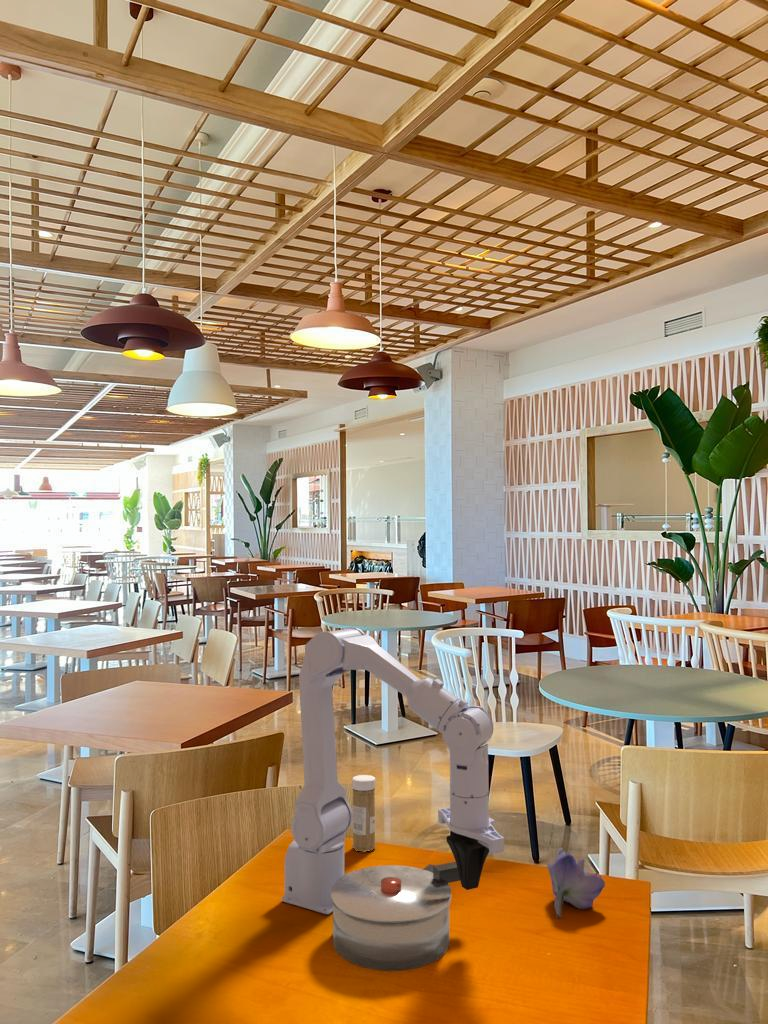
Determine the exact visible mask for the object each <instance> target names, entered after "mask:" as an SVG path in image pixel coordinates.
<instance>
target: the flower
mask: <svg viewBox="0 0 768 1024" xmlns="http://www.w3.org/2000/svg"><path fill="white" fill-rule="evenodd" d="M563 850H564V849H563V847H559V848H558V849H557V852H556V856H555V858H554V860H553V863H552V862H549V863H548V865H547V870H548V872H549V875H550V880H551V887H552V893H553V895H554V896H555V897H554V904H553V905H554V908H555V912H556V918H557V919H561V918H562V908H563V905H564V902H566V903H570V904H571V905H572V906H573V907H575V908H576V909H580V910H587V909H590V908H592V907H593V906H594V901H595V900H596V899H597V898H598V897H599V896H600V895H601V892H602V891H603V889H604V888H605V887H606V882H605V880H604V879H603V878H602V875H599V873H598V872H596V873H589V871H588V870H586V869H585V859H583V858H581V859H578V860H576V859H575V856H574V855H572V854H571V852H570V851H569V850H567V854H566V852H565V851H563Z"/></svg>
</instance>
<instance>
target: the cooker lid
mask: <svg viewBox="0 0 768 1024" xmlns="http://www.w3.org/2000/svg"><path fill="white" fill-rule="evenodd" d="M423 869H424V868H423ZM423 869H422V868H419V867H415V866H414V867H413V866H408V865H399V864H398V865H397V864H396V865H395V864H394V865H392V864H390V865H388V864H387V865H385V864H384V865H375V866H368V867H364V868H358V869H356V870H353V871H351V872H348V873H346V874H344V876H342V877H340V878H339V879H338V880H337V881H336V882H335V883H334V884H333V886H332V889H331V900H332V903H333V905H334V906H335V907H336V908H337V909H338V910H339V911H340V912H342V913H343V914H345V915H347V916H349V917H352V918H354V919H357V920H361V921H365V922H370V923H377V924H406V923H413V922H418V921H422V920H426V919H429V918H431V917H434V916H436V915H438V914H439V913H441V912H443V911H444V910H445V909H446V908H447V907H448V906H449V907H450V904H451V901H452V888H451V885H450V884H449V883H454V882H459V881H460V877H459V873H458V868H457V865H456V861H452V862H447V863H442V864H436V866H433V873H432V872H430V871H427V870H423ZM460 882H461V881H460Z"/></svg>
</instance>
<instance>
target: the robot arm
mask: <svg viewBox="0 0 768 1024" xmlns="http://www.w3.org/2000/svg"><path fill="white" fill-rule="evenodd" d="M304 654H305V655H304V656H305V657H304V660H303V662H302V665H301V669H300V671H299V674H298V689H299V702H300V703H299V707H300V708H299V709H300V721H301V722H300V724H301V725H300V727H301V741H302V759H303V762H302V763H303V780H304V785H303V788H302V789H301V791H300V792H299V794H298V795H297V797H296V799H295V802H294V808H295V809H294V814H293V818H292V820H291V826H290V827H291V835H292V837H293V839H294V840H293V841H292V842H291V843H290V844H289V846H288V848H287V851H286V853H285V857H284V895H283V896H282V897H281V902H284V903H287V904H290V905H293V906H294V905H295V906H297V907H300V908H303V909H308V910H311V911H314V912H317V913H320V914H323V915H330V914H331V913H333V903H332V900H331V889H332V886H333V884H334V883H335V882H336V881H337V880H338V879H339V878H340V877H342V876H344V875H345V840H346V832H347V831H348V830H349V829H350V828H351V826H352V825H353V809H352V807H351V805H350V803H349V801H348V796H347V789H346V787H344V786H343V784H341V782H339V777H338V764H337V746H336V731H335V713H334V711H335V710H334V695H333V694H334V693H333V692H334V691H333V685H334V684H335V683H336V682H337V681H338V680H339V679H340V678H341V677H342V676H343V675H344V674H345V673H346V672H347V671H349V670H351V671H352V670H353V671H357V670H358V671H361V670H363V671H364V670H365V671H367V672H368V673H371V674H372V675H374V677H377V678H378V679H379V680H381V681H382V682H384V683H386V684H387V685H388V686H390V687H391V688H392V689H393V690H395V691H397V692H398V693H400V694H402V695H403V696H404V697H406V701H407V702H406V703H407V707H408V709H409V710H410V711H412V712H413V713H415V715H417V716H418V717H419V718H420V719H422V720H423V721H424V722H426V723H427V724H428V725H430V726H431V727H432V728H433V729H435V731H437V732H439V733H440V734H442V735H441V736H442V738H443V742H444V744H445V745H446V747H447V748H448V750H449V807H444V808H439V809H438V810H437V813H438V814H437V815H438V817H437V819H438V820H437V822H438V823H440V824H441V825H443V824H446V825H447V826H446V827H448V829H449V830H450V832H452V833H453V834H449V835H447V836H446V838H445V839H446V843H447V844H448V847H449V848H450V850H451V853H452V855H453V859H454V862H456V865H457V868H458V873H459V877H460V884H461V887H462V888H463V889H464V890H467V891H469V890H473V889H476V888H479V884H480V880H481V876H482V872H483V869H484V868H483V867H484V864H485V862H486V859H487V858H488V856H489V853H490V854H491V855H495V854H500V853H504V852H505V837H503V836H502V835H500V833H499V832H498V831H497V830H496V829H495V827H494V826H495V823H496V820H494V819H493V818H491V817H490V815H489V814H490V810H489V809H490V808H489V807H490V805H489V803H490V799H489V795H490V793H489V792H490V791H489V790H490V788H489V787H490V786H489V744H488V742H489V741H490V740H491V739H492V736H493V734H494V722H493V719H492V717H491V716H490V715H489V713H488V712H487V711H486V710H485V709H484V707H482V706H480V705H479V706H478V705H469V701H467V700H466V699H464V698H462V699H460V698H458V696H456V695H455V694H453V693H452V692H451V691H449V690H448V689H447V688H445V687H444V682H443V681H442V680H441V679H439V678H436V679H433V678H431V677H425V678H422V679H420V678H419V677H418V676H416V675H415V674H414V673H413V672H411V671H410V670H409V669H408V668H407V667H405V665H403V664H402V663H401V662H400V661H398V660H397V659H396V658H394V657H393V656H392V655H391V654H390V653H388V651H386V650H385V649H383V647H381V646H380V645H379V644H378V643H377V642H376V640H375V638H374V637H372V636H371V635H369V634H366V633H365V632H364V631H363V630H362V629H360V628H357V627H348V628H344V629H339V630H338V629H337V630H331V631H326V630H325V631H321V632H318V633H316V634H315V635H313V637H312V638H311V639H310V640H309V641H308V642H306V643H305V645H304Z"/></svg>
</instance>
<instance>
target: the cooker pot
mask: <svg viewBox="0 0 768 1024" xmlns="http://www.w3.org/2000/svg"><path fill="white" fill-rule="evenodd" d="M436 865H437V864H436ZM436 865H435V864H430V863H429V864H428V865H426V866H425V867H424V868H423V870H427V871H430V872H432V873H433V866H436ZM332 925H333V926H332V932H333V933H332V934H333V935H332V943H333V948H334V950H335V951H336V953H337V954H338V955H339V956H341V957H342V958H343V959H344V960H345V961H348V962H350V963H352V964H353V965H356V966H359V967H361V968H362V967H363V968H365V969H369V970H370V969H371V970H376V971H385V972H386V971H387V972H390V971H391V972H394V971H395V972H397V971H407V970H413V969H417V968H421V967H424V966H427V965H430V964H431V963H433V962H437V960H439V959H440V958H441V957H443V956H444V955H445V953H446V952H447V951H448V949H449V947H450V905H449V906H448V907H447V908H446V909H445V910H444V911H443V912H441V913H439V914H438V915H436V916H434V917H431V918H429V919H426V920H422V921H418V922H413V923H406V924H377V923H370V922H365V921H361V920H357V919H354V918H352V917H349V916H347V915H345V914H343V913H342V912H340V911H339V910H338V909H337V908H336V907H335V906H334V905H333V912H332Z"/></svg>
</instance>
